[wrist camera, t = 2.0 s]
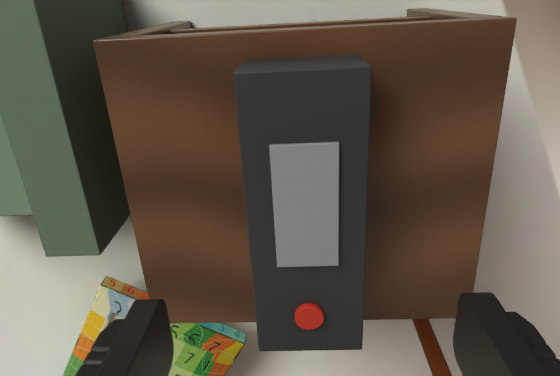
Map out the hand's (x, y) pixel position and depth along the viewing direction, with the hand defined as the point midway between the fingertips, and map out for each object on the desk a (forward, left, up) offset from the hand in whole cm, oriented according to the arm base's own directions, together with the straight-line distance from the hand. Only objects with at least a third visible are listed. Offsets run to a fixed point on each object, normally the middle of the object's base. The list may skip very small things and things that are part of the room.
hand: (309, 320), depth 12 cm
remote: (0, 0, -8) cm, 8 cm away
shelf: (0, 0, -20) cm, 20 cm away
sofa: (-3, -18, -20) cm, 27 cm away
